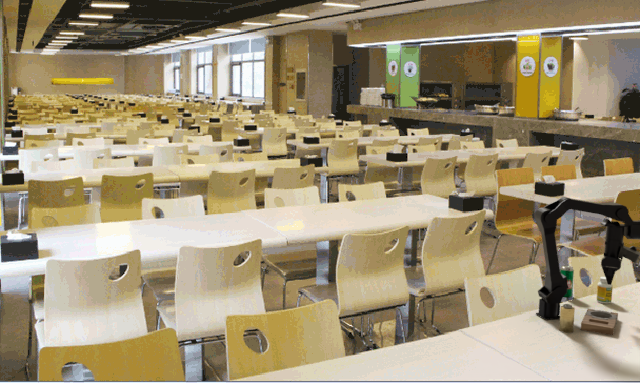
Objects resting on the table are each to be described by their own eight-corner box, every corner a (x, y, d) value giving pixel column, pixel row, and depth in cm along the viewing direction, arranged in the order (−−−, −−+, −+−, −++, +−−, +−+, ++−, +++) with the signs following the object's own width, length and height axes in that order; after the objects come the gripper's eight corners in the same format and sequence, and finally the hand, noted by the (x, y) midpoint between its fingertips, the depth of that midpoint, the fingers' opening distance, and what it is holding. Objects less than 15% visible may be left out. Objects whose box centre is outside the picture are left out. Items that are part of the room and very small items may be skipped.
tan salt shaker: (564, 333, 215) (566, 307, 213) (556, 328, 219) (558, 303, 218) (576, 332, 216) (577, 306, 215) (567, 327, 220) (569, 302, 219)
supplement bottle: (601, 299, 253) (603, 275, 252) (614, 302, 249) (616, 278, 248) (593, 301, 251) (595, 277, 249) (606, 304, 246) (607, 280, 245)
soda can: (558, 297, 255) (560, 267, 254) (558, 293, 260) (560, 264, 258) (572, 298, 253) (574, 269, 252) (572, 295, 258) (574, 266, 256)
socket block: (613, 335, 213) (613, 328, 213) (580, 330, 218) (581, 322, 218) (617, 319, 229) (618, 313, 228) (587, 315, 234) (587, 308, 233)
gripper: (639, 246, 216) (634, 291, 218) (640, 237, 232) (635, 279, 235) (603, 242, 221) (598, 286, 223) (606, 233, 237) (602, 274, 240)
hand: (610, 281), depth 230 cm, fingers open, 9 cm apart
